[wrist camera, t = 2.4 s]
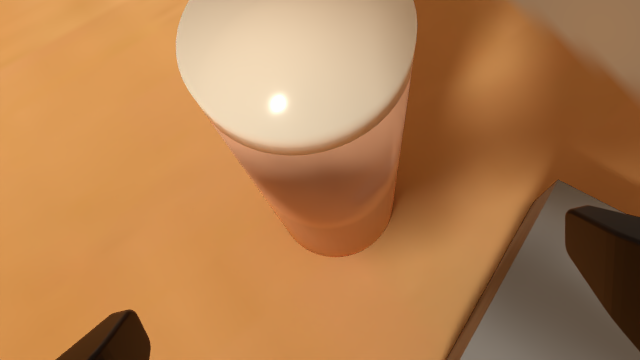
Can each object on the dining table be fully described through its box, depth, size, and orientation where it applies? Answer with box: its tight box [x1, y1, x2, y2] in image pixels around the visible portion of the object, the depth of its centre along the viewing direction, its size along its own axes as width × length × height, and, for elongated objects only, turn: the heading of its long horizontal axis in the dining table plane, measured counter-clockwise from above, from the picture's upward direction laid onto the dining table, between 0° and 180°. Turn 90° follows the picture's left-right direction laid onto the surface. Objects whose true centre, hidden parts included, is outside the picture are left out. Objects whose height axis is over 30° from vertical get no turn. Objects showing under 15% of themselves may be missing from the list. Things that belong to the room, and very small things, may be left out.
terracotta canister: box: [176, 0, 417, 257], centre depth 16 cm, size 6×6×13 cm
